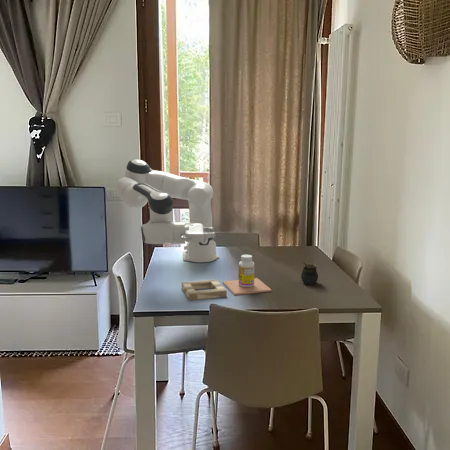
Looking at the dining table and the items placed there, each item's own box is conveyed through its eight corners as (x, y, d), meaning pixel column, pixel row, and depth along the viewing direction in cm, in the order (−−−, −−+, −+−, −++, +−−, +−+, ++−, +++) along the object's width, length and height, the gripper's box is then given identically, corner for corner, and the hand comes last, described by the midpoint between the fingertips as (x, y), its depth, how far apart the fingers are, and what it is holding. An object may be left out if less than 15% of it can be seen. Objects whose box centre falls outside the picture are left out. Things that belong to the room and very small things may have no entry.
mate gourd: (321, 283, 205) (322, 261, 203) (311, 287, 200) (312, 264, 198) (307, 279, 210) (308, 257, 208) (297, 283, 205) (298, 261, 203)
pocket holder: (181, 288, 198) (181, 282, 197) (215, 284, 202) (216, 279, 202) (189, 300, 184) (189, 294, 183) (226, 296, 188) (226, 290, 188)
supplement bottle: (237, 282, 202) (237, 253, 200) (252, 282, 203) (253, 253, 200) (239, 288, 196) (239, 258, 193) (255, 287, 196) (255, 257, 194)
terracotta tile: (222, 283, 205) (222, 281, 204) (257, 279, 209) (257, 278, 209) (234, 295, 190) (234, 293, 190) (271, 291, 194) (271, 289, 194)
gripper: (180, 230, 182) (215, 230, 183) (181, 220, 202) (213, 220, 203) (180, 246, 184) (216, 246, 185) (181, 235, 204) (213, 234, 205)
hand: (214, 232), depth 194 cm, fingers open, 8 cm apart
